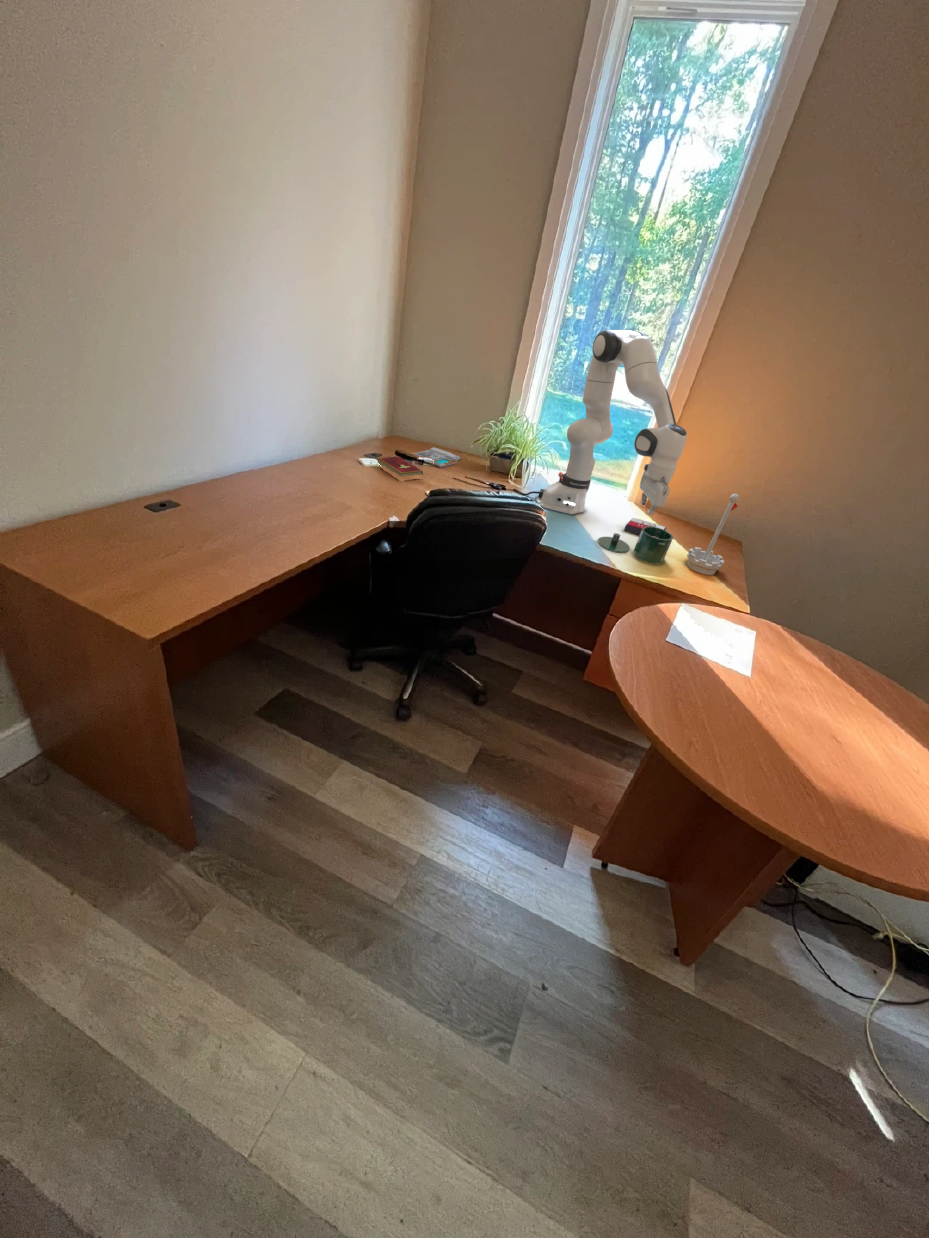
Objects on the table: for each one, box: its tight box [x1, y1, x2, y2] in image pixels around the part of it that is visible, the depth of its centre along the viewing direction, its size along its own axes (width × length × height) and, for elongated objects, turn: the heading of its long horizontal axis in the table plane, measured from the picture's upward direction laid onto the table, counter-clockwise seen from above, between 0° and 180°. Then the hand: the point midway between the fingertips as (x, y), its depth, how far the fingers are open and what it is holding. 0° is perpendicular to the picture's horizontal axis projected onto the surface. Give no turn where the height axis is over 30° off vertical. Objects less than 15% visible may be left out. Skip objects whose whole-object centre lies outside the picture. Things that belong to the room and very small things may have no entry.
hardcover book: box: [376, 455, 424, 477], centre depth 228 cm, size 12×21×4 cm, turn 39°
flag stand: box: [686, 493, 740, 576], centre depth 182 cm, size 13×13×30 cm
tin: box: [632, 525, 674, 565], centre depth 188 cm, size 12×17×10 cm
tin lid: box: [597, 532, 630, 554], centre depth 193 cm, size 13×13×5 cm
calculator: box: [624, 517, 667, 537], centre depth 210 cm, size 11×4×15 cm
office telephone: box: [412, 446, 461, 469], centre depth 253 cm, size 23×3×20 cm
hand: (646, 509), depth 183 cm, fingers open, 8 cm apart
